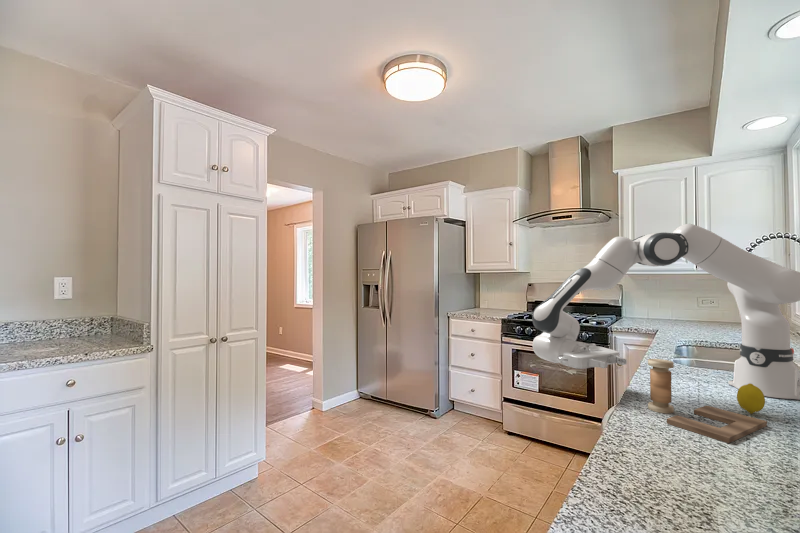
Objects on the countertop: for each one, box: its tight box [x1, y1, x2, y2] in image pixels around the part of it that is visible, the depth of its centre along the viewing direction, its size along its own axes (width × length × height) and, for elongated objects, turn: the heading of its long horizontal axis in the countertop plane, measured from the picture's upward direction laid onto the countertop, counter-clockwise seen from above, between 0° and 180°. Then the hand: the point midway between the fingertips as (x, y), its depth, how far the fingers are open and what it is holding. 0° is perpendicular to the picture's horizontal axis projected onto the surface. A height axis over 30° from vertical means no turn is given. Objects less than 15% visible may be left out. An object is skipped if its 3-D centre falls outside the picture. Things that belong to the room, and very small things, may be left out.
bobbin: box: [647, 358, 675, 414], centre depth 105 cm, size 6×6×13 cm
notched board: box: [666, 405, 768, 444], centre depth 95 cm, size 20×12×1 cm, turn 119°
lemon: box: [736, 383, 766, 415], centre depth 102 cm, size 6×6×8 cm
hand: (616, 363), depth 116 cm, fingers open, 8 cm apart
